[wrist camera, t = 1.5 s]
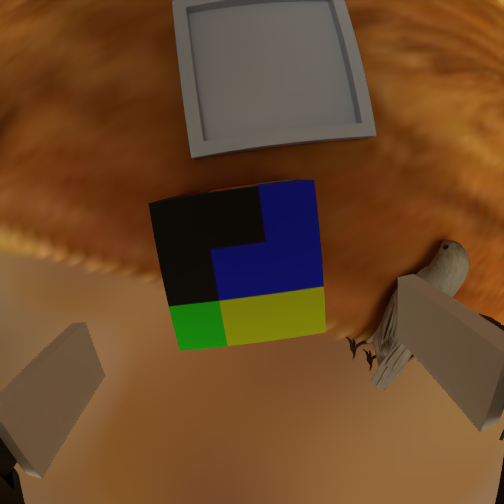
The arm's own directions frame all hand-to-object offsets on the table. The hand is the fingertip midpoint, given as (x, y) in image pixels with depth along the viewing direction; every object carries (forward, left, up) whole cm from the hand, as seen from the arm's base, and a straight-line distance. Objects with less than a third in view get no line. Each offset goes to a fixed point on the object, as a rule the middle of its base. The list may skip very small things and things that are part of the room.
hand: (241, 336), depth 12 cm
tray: (-16, +5, -18) cm, 24 cm away
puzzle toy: (0, 0, -18) cm, 18 cm away
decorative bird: (+8, +16, -18) cm, 25 cm away
